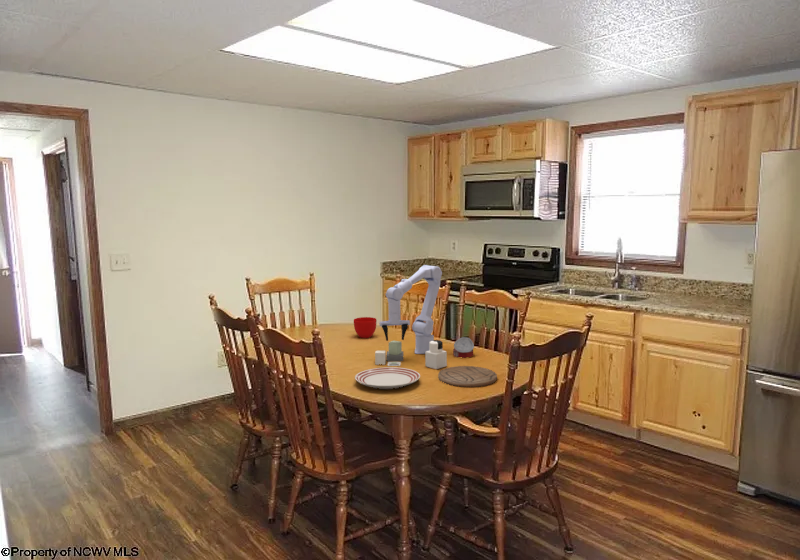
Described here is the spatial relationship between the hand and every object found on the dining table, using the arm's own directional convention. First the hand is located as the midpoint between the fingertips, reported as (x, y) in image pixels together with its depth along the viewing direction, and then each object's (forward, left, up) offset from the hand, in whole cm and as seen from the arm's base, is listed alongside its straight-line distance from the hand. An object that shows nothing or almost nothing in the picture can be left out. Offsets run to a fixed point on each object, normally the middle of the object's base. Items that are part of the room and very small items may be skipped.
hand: (394, 340), depth 267 cm
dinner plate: (+2, +36, -10) cm, 37 cm away
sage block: (0, 0, -7) cm, 7 cm away
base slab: (0, 0, -10) cm, 10 cm away
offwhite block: (+7, +8, -9) cm, 14 cm away
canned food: (-33, -6, -10) cm, 35 cm away
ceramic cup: (+19, -47, -9) cm, 51 cm away
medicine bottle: (-19, +13, -9) cm, 25 cm away
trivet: (-32, +30, -10) cm, 45 cm away
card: (0, +10, -9) cm, 13 cm away
